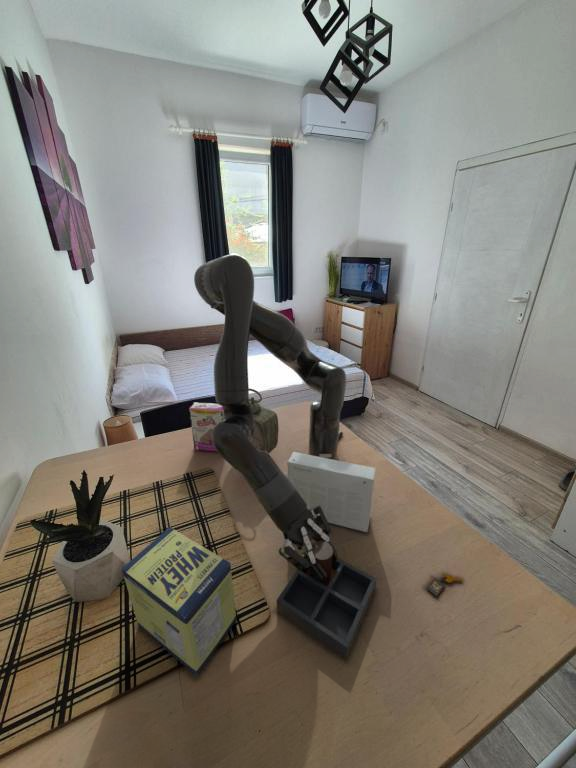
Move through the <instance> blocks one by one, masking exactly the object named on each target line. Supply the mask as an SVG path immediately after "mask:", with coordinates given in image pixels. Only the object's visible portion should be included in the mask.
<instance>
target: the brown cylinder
mask: <svg viewBox="0 0 576 768" xmlns="http://www.w3.org/2000/svg"><path fill="white" fill-rule="evenodd" d="M311 545H312V552H313V554H314V557H315V559H316V561H318V562H319V564H320V565H321V567H322V568H323V569H324V571H325V572H326V574H327V578H326V579H325V580H319V579H316V578H315V576H314V575H313V574H312V572H311V571H310V577H312V578H314V579H315V580H317V581H319V582H320V583H322V584H324V585H325V586H326V585H328V584H329V582H330V579H331V568H332V557H333V549H332V547H331V545H330V544H329V543H327V542H325V541H317V542H316V541H315V542H314V543H312V544H311Z"/></svg>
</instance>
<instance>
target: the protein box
mask: <svg viewBox="0 0 576 768" xmlns="http://www.w3.org/2000/svg"><path fill="white" fill-rule="evenodd" d="M231 565H232V564H231V562H230V561H228V560H227V559H225V558H223V557H221V556H220V555H218V554H216V553H214V552H213V551H211V550H209V549H208V548H206V547H204V546H202V545H201V544H200V543H198V542H196V541H194V540H192V539H191V538H189V537H188V536H186V535H185V534H182V533H181V532H179V531H177V530H176V529H174V528H173V527H171V526H169V527H167V528H166V529H165V530H164V531H163V532H162V533H161V534H160V535H158V536H157V537H155V539H154V540H153V541H152V542H150V543H149V544H148V545H146V547H145V548H143V549H142V550H141V551H140V552H139V553H138V554H136V555H135V556H134V557H133V558H132V559H131V560H130V561H128V562H127V563H126V564H125V565H124V566H122V567H121V571H122V575H123V579H124V583H125V586H126V590H127V592H128V597H129V599H130V602H131V606H132V609H133V613H134V615H135V616H134V617H135V619H136V622H137V626H138V628H140V629H141V630H142V631H143V632H145V633H146V634H147V635H148V636H149V637H151V639H153V640H154V641H155V642H156V643H157V644H158V645H160V646H161V647H162V648H163V649H165V650H166V651H167V652H168V653H169V654H170V655H171V656H173V657H174V658H175V659H176V660H177V661H178V662H180V663H181V664H182V665H183V666H184V667H185V668H186V669H188V670H189V671H190V672H191V673H192V674H194V675H195V676H197V677H198V676H199V674H200V673H201V672H202V670H203V669H204V668H205V666H206V665H207V663H208V662H209V661H210V659H211V658H212V656H213V654H215V652H216V650H217V649H218V648H219V646H220V645H221V643H222V642H223V640H224V639H225V638H226V636H227V635H228V633H229V632H230V630H231V629H232V628H233V626H234V625H235V623H236V621H237V619H238V618H237V613H236V612H237V611H236V604H235V595H234V594H235V593H234V584H233V575H232V574H233V573H232V566H231Z"/></svg>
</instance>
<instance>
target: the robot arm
mask: <svg viewBox="0 0 576 768" xmlns="http://www.w3.org/2000/svg"><path fill="white" fill-rule="evenodd" d="M193 282H194V287H195V290H196V291H197V294H198V295H199V297H200V298H201V299H202V300H203V301H204V302H205V303H206V304H207V305H209V306H210V307H212V309H214V310H216V311H217V312H219V313H220V314H221V315H223V316H224V325H223V330H222V333H221V338H220V341H219V344H218V347H217V350H216V353H215V356H214V357H215V358H214V362H213V384H214V385H213V386H214V398H215V402H216V404H219V405H221V406H222V407H223V412H224V418H225V420H223V421H220V422H219V423H217V424H216V425H215V427H214V428H213V430H212V442H213V444H214V447H215V449H216V450H217V453H218V455H220V456H221V458H222V459H223V460H224V461H226V462H227V463H228V464H229V465H230V466H231V467H232V468H233V469H234V470H236V471H237V472H238V473H239V474H240V475H242V477H243V478H244V480H245V482H246V483H247V485H248V487H250V489H251V490H252V491H253V494H254V496H255V497H256V499H257V500H258V503H260V506H261V507H262V509H264V511H265V513H266V514H267V515H268V516H269V518H270V520H271V521H272V522H273V524H274V526H276V528H277V529H278V530H279V531H281V533H282V534H283V539H284V540H285V541H284V543H283V546H282V547H280V548H279V549H278V555H280V556H281V557H283V559H285V560H286V561H287V562H289V563H290V564H291V565H292V566H293V567H295V568H296V570H297V569H299V570H300V569H305V568H309V569H310V571H311V572H312V574H313V575H314V576H315V578H316V579H319V580H325V579H326V578H327V574H326V572H325V571H324V569H323V568H322V567H321V565H320V564H319V562H318V561H316V559H315V557H314V554H313V552H312V545H313V544H312V543H311V540H314V541H315V542H317V541H325V542H327V543H329V544H330V545H331V547H332V549H333V557H332V561H335V560H337V559H339V555H338V552H337V549H336V548H335V547H334V545H333V544H332V543H331V541H330V534H332V529H331V526H330V523H328V522H327V519H326V517H325V515H324V513H323V511H322V508H321V507H320V506H317V507H314V508H312V509H311V510H309V509H307V504H306V503H305V501H304V500H303V498H302V497H301V496H300V494H299V493H298V491H297V490H296V489H295V487H294V486H293V484H292V483H291V482H290V480H289V479H288V476H287V475H285V472H283V471H282V470H281V468H280V467H279V466H278V464H277V462H275V460H274V459H273V457H272V456H271V454H270V453H269V454H268V453H267V452H266V451H263V450H262V451H259V450H258V449H257V448H256V447H255V446H254V445H253V444H252V443H251V440H252V439H253V436H254V430H255V423H254V417H253V412H252V408H251V404H250V402H251V401H250V400H249V399H250V396H249V395H250V391H249V389H250V388H249V386H250V385H249V365H248V363H249V362H248V359H249V357H248V356H249V355H248V354H249V344H250V343H249V341H250V337H252V338H253V339H254V340H256V342H258V343H259V344H260V345H261V346H262V347H263V348H264V349H265V350H267V351H268V352H269V353H270V354H271V355H273V357H274V358H276V359H277V360H279V361H280V362H281V363H282V364H284V365H286V366H287V367H288V368H291V370H293V371H294V372H295V373H296V374H297V375H298V376H299V377H300V379H301V380H302V381H303V383H305V384H306V386H307V387H309V389H311V390H312V391H314V392H316V393H318V394H319V395H320V396H321V397H320V398H321V399H316V400H314V401H313V402H312V403H311V404H310V406H309V428H308V429H309V431H308V432H309V433H308V455H312V456H317V457H322V458H327V459H332V460H337V461H338V451H339V450H338V448H339V440H340V439H341V437H342V436H343V434H344V432H342V431H340V424H341V423H340V422H341V421H340V420H341V412H342V409H343V406H344V401H345V396H346V395H345V394H346V388H347V374H346V371H345V370H344V368H342V367H340V366H338V365H335V364H333V363H330V362H328V361H326V360H323V359H321V358H320V357H318V356H317V355H315V354H314V353H313V352H312V351H311V350H310V349H309V347H308V344H307V343H308V341H307V338H306V337H305V334H304V333H303V332H302V331H301V330H300V328H299V327H297V326H296V324H295V323H294V322H293V321H292V320H290V318H288V317H287V316H286V315H284V314H283V313H281V312H279V311H276V310H274V309H272V308H270V307H268V306H265V305H263V304H261V303H259V302H256V301H255V300H254V296H255V295H254V294H255V275H254V271H253V269H252V266H251V265H250V263H249V261H248V260H247V259H246V258H244V257H243V256H242V255H240V254H238V253H237V254H236V253H230V254H226V255H222V256H220V257H217V258H214V259H211V260H210V261H207V262H205V263H203V264H201V265H200V266H199V267H197V269H196V270H195V272H194V276H193ZM293 545H294V546H293ZM303 546H304V547H303ZM307 556H308V557H307Z"/></svg>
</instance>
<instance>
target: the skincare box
mask: <svg viewBox="0 0 576 768" xmlns="http://www.w3.org/2000/svg"><path fill="white" fill-rule="evenodd" d="M286 463H287V464H286V465H287V478H288V479H289V480H290V482H291V483H292V484H293V486H294V487H295V489H296V490H297V491H298V493H299V494H300V496H301V497H302V498H303V500H304V501H305V503H306V504H307V509H309V510H311V509H312V508H314V507H317V506H320V507H321V508H322V511H323V513H324V515H325V517H326V519H327V522H328V524H332V525H336V526H341V527H345V528H349V529H352V530H356V531H360V532H363V533H368V532H369V526H370V519H371V511H372V504H373V495H374V488H375V487H374V486H375V479H376V469H377V468H376V467H372V466H368V465H367V466H366V465H362V464H357V463H351V462H347V461H342V460H338V459H337V460H332V459H327V458H322V457H317V456H312V455H309V454H306V453H302V452H297V451H293V452H292V453H291V455H290V457H289V459H288V460H287V462H286Z"/></svg>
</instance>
